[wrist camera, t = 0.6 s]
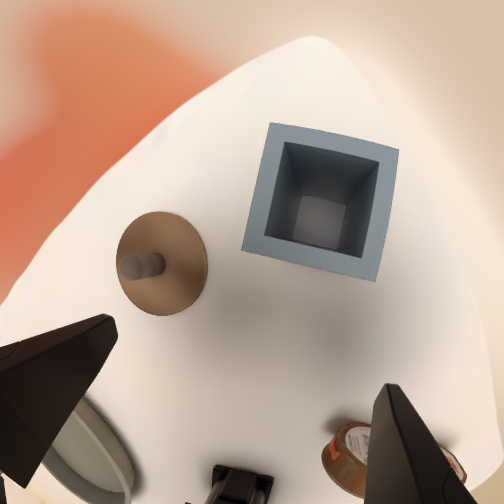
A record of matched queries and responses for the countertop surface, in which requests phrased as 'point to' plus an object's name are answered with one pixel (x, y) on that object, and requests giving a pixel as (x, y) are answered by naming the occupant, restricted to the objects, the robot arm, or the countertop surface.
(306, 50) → the countertop surface
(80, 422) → the cake pan
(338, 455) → the tin
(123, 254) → the pin base
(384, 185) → the sleeve
